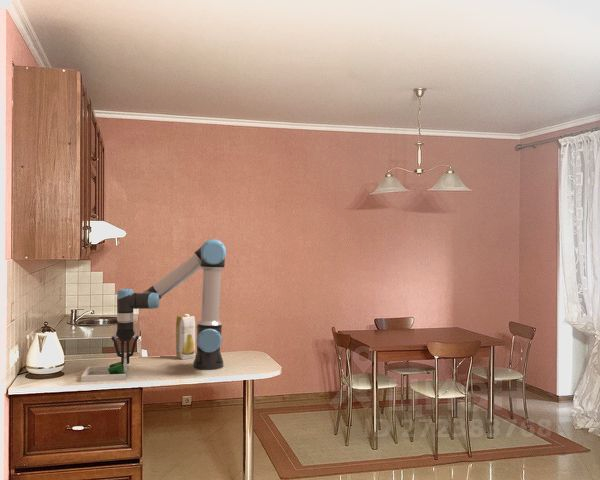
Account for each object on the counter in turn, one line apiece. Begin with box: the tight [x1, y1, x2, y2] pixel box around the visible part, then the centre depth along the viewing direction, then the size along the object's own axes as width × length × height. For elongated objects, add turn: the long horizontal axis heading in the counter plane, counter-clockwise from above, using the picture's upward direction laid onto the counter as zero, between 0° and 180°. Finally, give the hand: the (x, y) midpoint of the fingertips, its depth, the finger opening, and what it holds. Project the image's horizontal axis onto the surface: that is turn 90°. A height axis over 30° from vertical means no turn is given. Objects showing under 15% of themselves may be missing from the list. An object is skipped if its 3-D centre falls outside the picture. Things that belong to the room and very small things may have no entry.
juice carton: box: [175, 313, 196, 360], centre depth 336 cm, size 9×8×24 cm
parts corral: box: [80, 364, 130, 383], centre depth 294 cm, size 20×21×2 cm
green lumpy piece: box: [108, 361, 126, 375], centre depth 293 cm, size 12×6×9 cm, turn 5°
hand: (125, 370), depth 295 cm, fingers closed
